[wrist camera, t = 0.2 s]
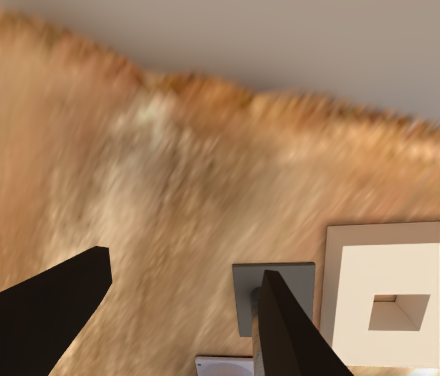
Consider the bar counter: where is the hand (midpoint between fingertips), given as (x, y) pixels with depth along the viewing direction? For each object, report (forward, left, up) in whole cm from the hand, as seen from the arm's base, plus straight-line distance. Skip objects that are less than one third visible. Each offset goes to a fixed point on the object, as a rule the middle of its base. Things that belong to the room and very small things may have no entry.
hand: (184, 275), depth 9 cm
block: (-11, -15, -10) cm, 21 cm away
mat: (-13, -5, -10) cm, 17 cm away
